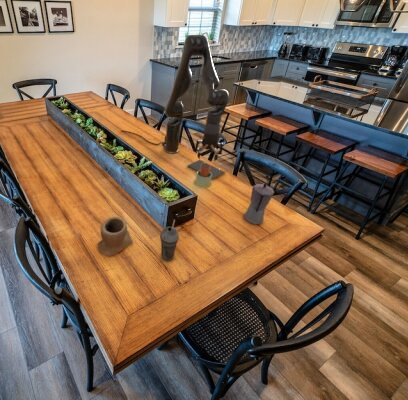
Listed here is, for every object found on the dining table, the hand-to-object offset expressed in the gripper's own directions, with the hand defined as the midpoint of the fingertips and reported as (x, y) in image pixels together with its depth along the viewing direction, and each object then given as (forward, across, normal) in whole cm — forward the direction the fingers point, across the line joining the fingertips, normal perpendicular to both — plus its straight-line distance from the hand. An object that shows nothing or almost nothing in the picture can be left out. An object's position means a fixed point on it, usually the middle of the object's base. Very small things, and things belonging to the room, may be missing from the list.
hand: (206, 159), depth 146 cm
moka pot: (+16, -27, +26) cm, 41 cm away
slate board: (+16, -1, -15) cm, 22 cm away
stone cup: (+16, +31, +60) cm, 69 cm away
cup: (+16, 0, 0) cm, 16 cm away
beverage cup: (+16, +9, +60) cm, 63 cm away
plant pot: (+15, 0, 0) cm, 15 cm away
